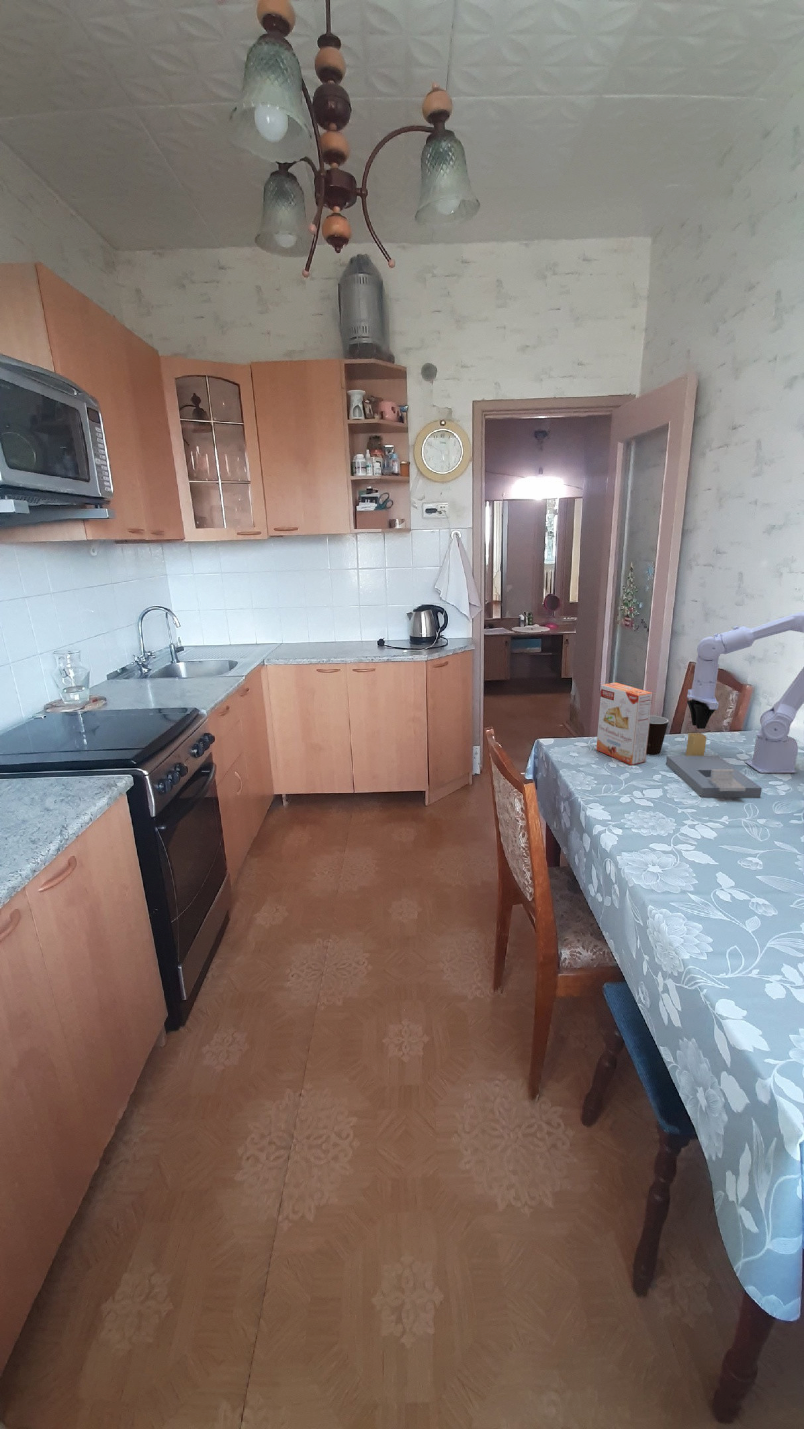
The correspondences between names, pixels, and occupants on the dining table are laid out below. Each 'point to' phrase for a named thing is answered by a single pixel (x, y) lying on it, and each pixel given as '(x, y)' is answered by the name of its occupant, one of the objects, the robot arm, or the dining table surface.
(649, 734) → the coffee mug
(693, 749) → the plug
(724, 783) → the panel
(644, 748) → the cracker box
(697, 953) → the dining table surface
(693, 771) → the socket plate
